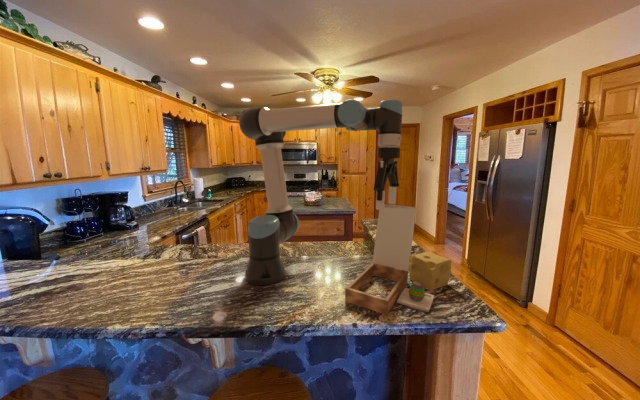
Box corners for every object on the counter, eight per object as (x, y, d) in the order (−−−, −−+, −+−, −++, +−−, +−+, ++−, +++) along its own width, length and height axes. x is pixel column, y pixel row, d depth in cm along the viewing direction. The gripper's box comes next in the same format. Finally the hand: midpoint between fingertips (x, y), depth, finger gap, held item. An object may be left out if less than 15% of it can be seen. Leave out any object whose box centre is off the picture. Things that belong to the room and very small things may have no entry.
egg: (422, 296, 87) (424, 279, 86) (425, 304, 83) (426, 286, 82) (407, 294, 88) (408, 277, 87) (409, 302, 84) (410, 284, 83)
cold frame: (345, 301, 85) (346, 260, 83) (376, 268, 109) (377, 236, 107) (387, 315, 78) (389, 271, 75) (410, 277, 102) (412, 243, 99)
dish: (397, 302, 84) (397, 300, 84) (404, 290, 92) (405, 287, 92) (428, 312, 79) (429, 309, 79) (434, 298, 87) (434, 295, 87)
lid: (380, 203, 105) (380, 203, 106) (372, 262, 104) (373, 262, 105) (415, 207, 98) (416, 207, 99) (408, 271, 97) (408, 270, 98)
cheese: (430, 291, 91) (432, 264, 90) (407, 278, 101) (408, 254, 99) (449, 285, 96) (452, 259, 94) (426, 273, 105) (427, 249, 104)
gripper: (388, 145, 79) (385, 214, 82) (408, 147, 99) (405, 202, 103) (365, 146, 83) (363, 211, 86) (389, 148, 103) (387, 200, 107)
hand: (386, 206), depth 95 cm, fingers open, 13 cm apart
